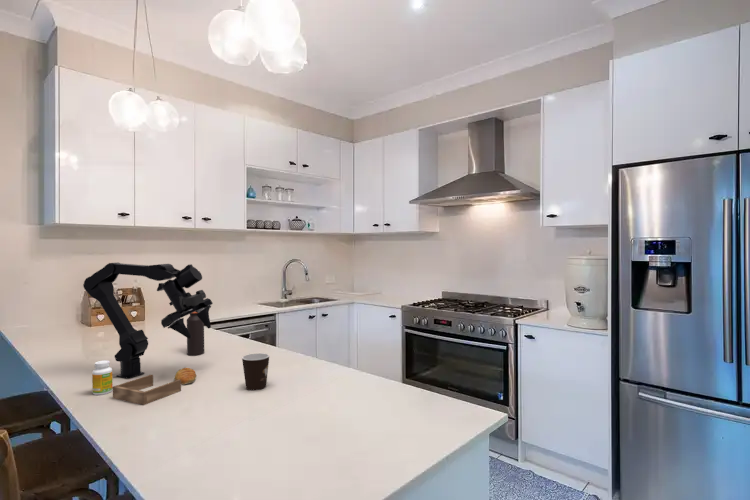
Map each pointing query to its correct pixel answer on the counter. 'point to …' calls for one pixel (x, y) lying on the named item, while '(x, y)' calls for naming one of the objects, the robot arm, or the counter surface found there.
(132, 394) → the box
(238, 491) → the counter surface
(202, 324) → the vinegar
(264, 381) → the coffee mug
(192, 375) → the pastry
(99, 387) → the supplement bottle
